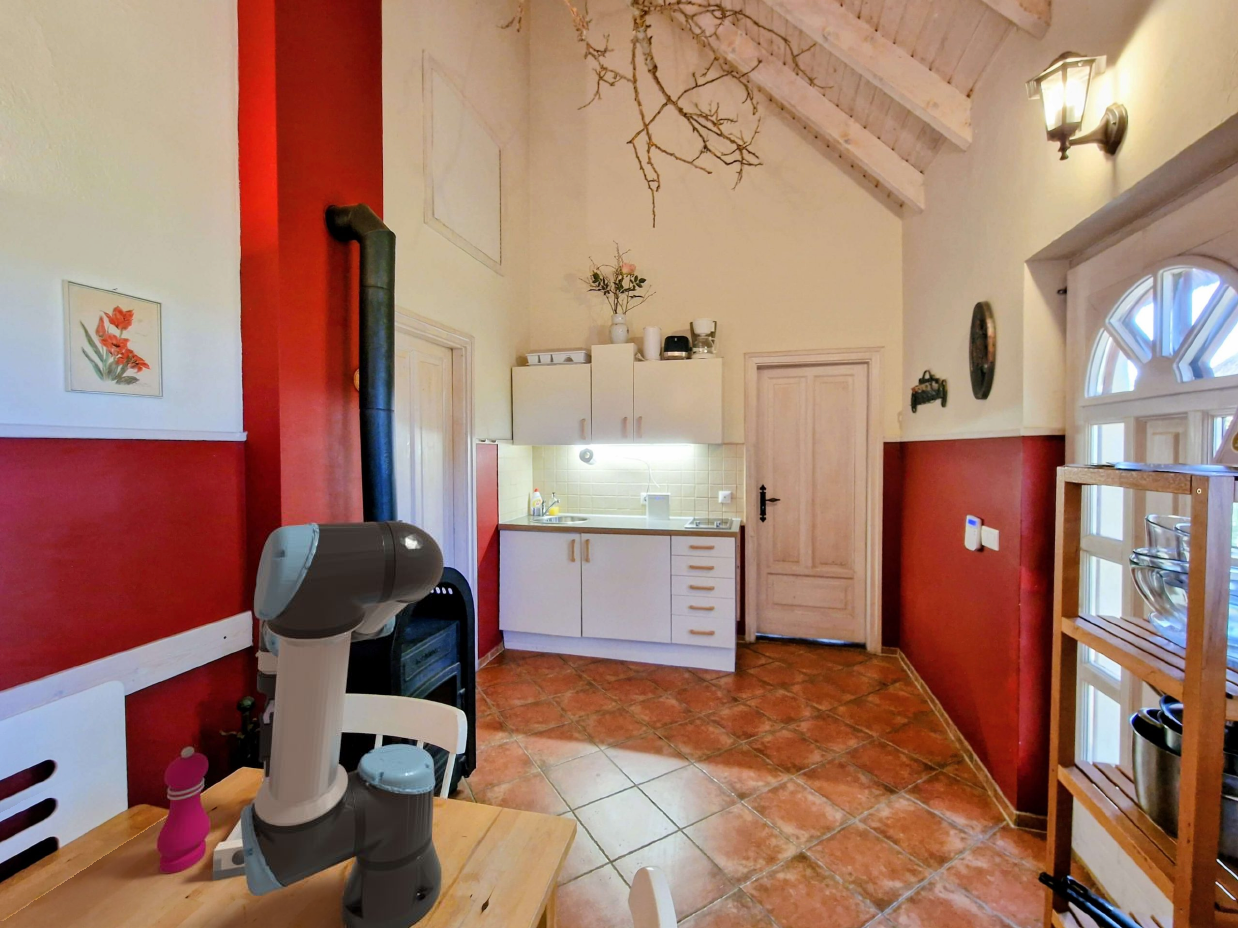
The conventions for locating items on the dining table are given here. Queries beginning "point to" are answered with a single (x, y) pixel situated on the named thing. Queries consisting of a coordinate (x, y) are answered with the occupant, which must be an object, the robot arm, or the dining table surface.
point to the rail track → (230, 855)
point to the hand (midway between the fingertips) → (275, 782)
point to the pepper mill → (184, 814)
